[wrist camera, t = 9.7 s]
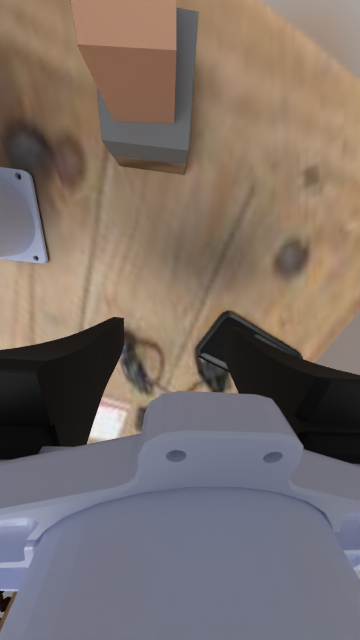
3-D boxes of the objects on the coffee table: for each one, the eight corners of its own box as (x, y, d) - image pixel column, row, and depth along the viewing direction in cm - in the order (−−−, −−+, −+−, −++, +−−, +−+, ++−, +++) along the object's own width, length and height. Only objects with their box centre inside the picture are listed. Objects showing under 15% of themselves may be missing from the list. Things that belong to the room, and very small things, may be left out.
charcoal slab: (112, 156, 14) (101, 139, 12) (105, 40, 12) (89, -9, 9) (185, 164, 15) (188, 150, 12) (193, 54, 12) (198, 11, 10)
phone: (269, 392, 28) (193, 354, 24) (266, 386, 29) (192, 350, 25) (306, 357, 26) (227, 309, 22) (301, 353, 27) (225, 306, 23)
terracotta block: (114, 121, 12) (77, 44, 7) (103, 24, 10) (46, -160, 5) (174, 123, 12) (176, 50, 7) (173, 29, 10) (176, -146, 6)
